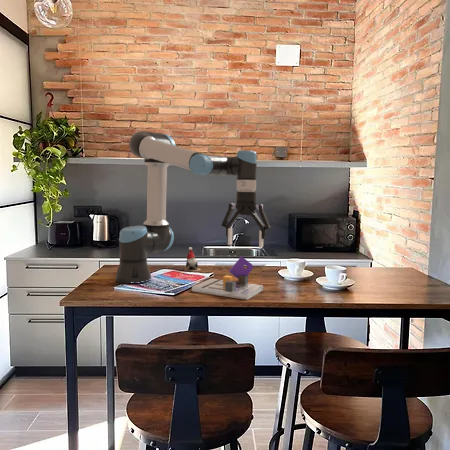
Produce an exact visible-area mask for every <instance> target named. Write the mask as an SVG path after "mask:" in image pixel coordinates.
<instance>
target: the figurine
mask: <svg viewBox="0 0 450 450" xmlns="http://www.w3.org/2000/svg"><path fill="white" fill-rule="evenodd" d="M188 251H189V252H188V253H187V256H186V263H185V266H186V268H188V269H187V270H184V271H186V272H200V271H201V270H202V269H201V268H199V267H198V266H199V261H198V259H197V258H196V256H195V253H194V251H193V247H191V246H189V247H188Z"/></svg>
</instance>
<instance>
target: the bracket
mask: <svg viewBox="0 0 450 450" xmlns="http://www.w3.org/2000/svg"><path fill="white" fill-rule="evenodd" d="M244 266H246V267H247V268H245V267H244ZM253 267H254V266H253V264H252V263H251V262H250V261H248V260H247V259H246V258H245V257H243V256H242V255H241V256H240V257H239V259H237V261H236V262H235V263H234V265H233V266H232V267H231V268H230V269H229V271H228V273H230V274H231V276H233V277H235V278H236V279H238V277H239V275H248V276H249V274H250V273H251V271H253Z"/></svg>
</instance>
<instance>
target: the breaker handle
mask: <svg viewBox="0 0 450 450" xmlns="http://www.w3.org/2000/svg"><path fill="white" fill-rule="evenodd" d="M222 280H223V285H224V286H225V282H227V281H234V275H227V274H226V275H224V276H222Z"/></svg>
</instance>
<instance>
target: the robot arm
mask: <svg viewBox="0 0 450 450" xmlns="http://www.w3.org/2000/svg"><path fill="white" fill-rule="evenodd" d="M128 148H129V151H130V153H131V154H132V155H133V156H135V157H137V158H140V159H143V160H144V161H143V162H144V164H145V166H146V167H147V182H146V183H147V185H146V187H147V190H146V191H147V193H146V196H147V198H146V201H147V203H146V220H144V221H143V225H130V226H126V227H123V228H122V229H120V231H119V238H118V242H119V244H118V245H119V265H118V267H117V271H116V274H115V282H116V283H119V284H124V283H131V282H141V281H146V280H149V279H151V280H152V274H151V272H150V269H149V265H148V255H150V254H151V255H152V254H155V253H162V252H165V251H168V250H169V249H170V248H171V247H172V245H173V243H174V240H175V235H174V232H173V229H172V228H171V227H170V223H169V222H168V221H167V188H168V187H167V182H168V180H167V178H168V167H170V165H172V166H176V167H179V168H182V169H185V170H189V171H191V172H192V173H193V174H194V175H198V176H217V177H218V176H219V177H223V176H224V177H225V176H227V177H228V176H235V177H236V191H237V192H236V203H233V202H230V203H228V208H227V212H226V213H225V216H224V218H223V221H222V223H221V227H224V228H225V236H226V237H227V246H231V245H233V233H234V232H233V227H232V226H233V225H234V224H235V222H236V221H237V220H238V218H239V217H240V216H251V218H252V219H253V220H254V222H255V223H256V224H257V225H258V227H259V229H260V230H258V231H259V235H258V239H259V240H258V248H260V249H261V248H263V247H264V240H265V239H266V238H267V230H269V229H271V228H272V227H271V224H270V222H269V221H270V220H269V219H268V216H267V214H266V211H265V205H264V204H263V203H261V204H257V193H256V191H257V164H258V162H257V152H256V151H254V150H238V151H237V153H236V156H235V155H233V156H222V155H211V154H205V153H202V152H198V151H195V150H191V149H187V148H184V147H180V146H177V145H176V143H175V140H174V139H173V137H172V136H170V135H169V134H167V133H166V134H165V133H163V132H154V131H153V132H152V131H147V130H140V131H136V132H134V133H133V134H132V135H131V137H130V138H129V142H128ZM235 209H236V211H235V213H234V215H233V216H232V214H233V212H234V210H235ZM256 209H257V210H258V213H259V215H260V217H259V215H258V213H257V212H256ZM231 216H232V217H231ZM261 219H262V220H261Z"/></svg>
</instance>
